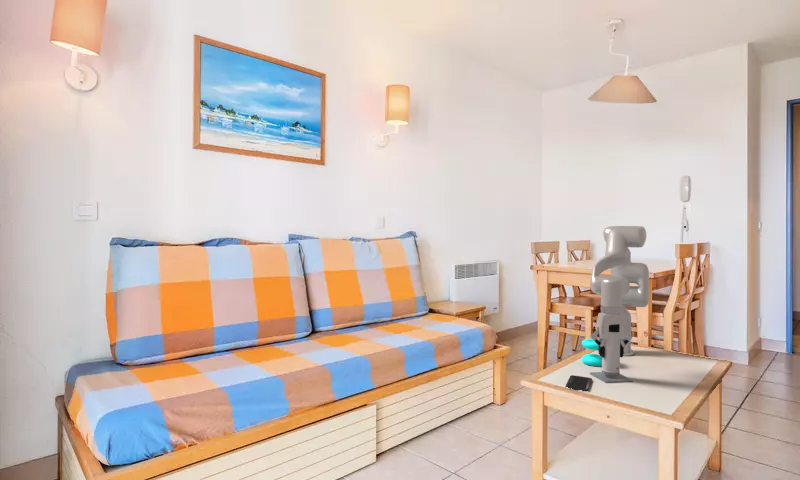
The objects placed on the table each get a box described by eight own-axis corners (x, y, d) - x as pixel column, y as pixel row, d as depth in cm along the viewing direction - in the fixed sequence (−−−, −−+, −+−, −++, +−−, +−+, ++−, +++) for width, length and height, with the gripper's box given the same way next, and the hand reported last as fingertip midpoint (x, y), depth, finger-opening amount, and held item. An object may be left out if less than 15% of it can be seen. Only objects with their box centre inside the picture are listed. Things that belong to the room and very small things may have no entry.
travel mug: (622, 376, 174) (623, 324, 173) (604, 375, 175) (605, 323, 174) (618, 371, 180) (619, 320, 179) (600, 370, 181) (601, 320, 180)
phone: (592, 378, 174) (588, 389, 161) (592, 381, 175) (588, 393, 161) (570, 374, 178) (564, 386, 165) (570, 377, 178) (564, 389, 165)
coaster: (589, 373, 182) (589, 372, 182) (615, 372, 183) (615, 371, 183) (605, 382, 171) (605, 381, 171) (632, 381, 173) (632, 380, 173)
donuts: (588, 336, 203) (611, 340, 196) (588, 359, 203) (611, 364, 196) (577, 340, 196) (600, 344, 189) (577, 363, 196) (600, 368, 189)
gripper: (629, 308, 180) (629, 354, 181) (585, 308, 181) (584, 353, 181) (638, 312, 173) (638, 359, 173) (592, 312, 173) (592, 358, 174)
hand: (611, 356), depth 177 cm, fingers closed on travel mug, 6 cm apart
